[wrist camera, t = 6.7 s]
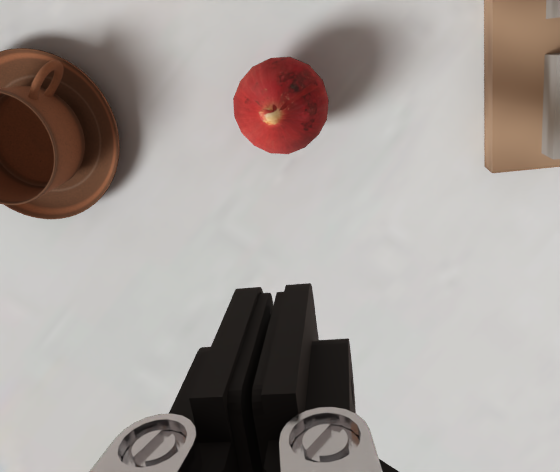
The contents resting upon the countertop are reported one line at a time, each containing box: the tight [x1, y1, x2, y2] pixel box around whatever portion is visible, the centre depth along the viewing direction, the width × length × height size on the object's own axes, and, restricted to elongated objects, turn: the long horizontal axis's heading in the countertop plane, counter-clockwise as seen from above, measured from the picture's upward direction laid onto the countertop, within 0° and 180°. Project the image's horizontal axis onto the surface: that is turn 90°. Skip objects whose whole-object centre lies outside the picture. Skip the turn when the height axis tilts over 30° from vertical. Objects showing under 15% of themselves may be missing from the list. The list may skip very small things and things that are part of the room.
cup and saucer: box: [0, 48, 120, 219], centre depth 37 cm, size 12×12×6 cm
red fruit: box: [233, 57, 329, 154], centre depth 33 cm, size 6×6×8 cm
